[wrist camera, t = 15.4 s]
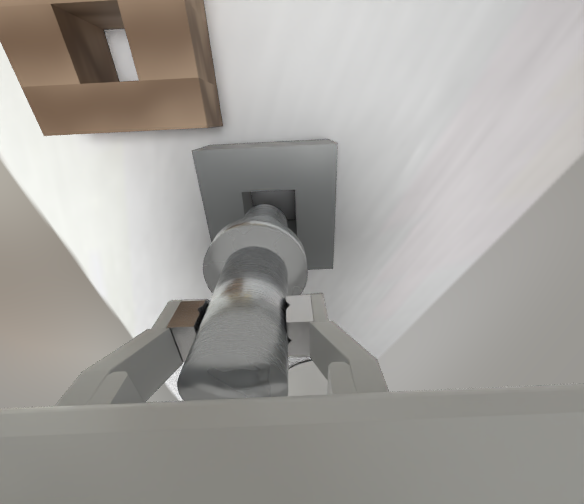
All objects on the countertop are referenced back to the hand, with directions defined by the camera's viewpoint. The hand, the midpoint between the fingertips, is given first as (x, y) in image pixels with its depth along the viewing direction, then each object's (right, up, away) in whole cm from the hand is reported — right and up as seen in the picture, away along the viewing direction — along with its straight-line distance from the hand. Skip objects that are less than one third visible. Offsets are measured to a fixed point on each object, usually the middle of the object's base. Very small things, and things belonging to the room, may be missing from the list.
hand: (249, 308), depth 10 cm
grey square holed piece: (0, +8, +15) cm, 17 cm away
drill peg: (0, +4, +8) cm, 9 cm away
